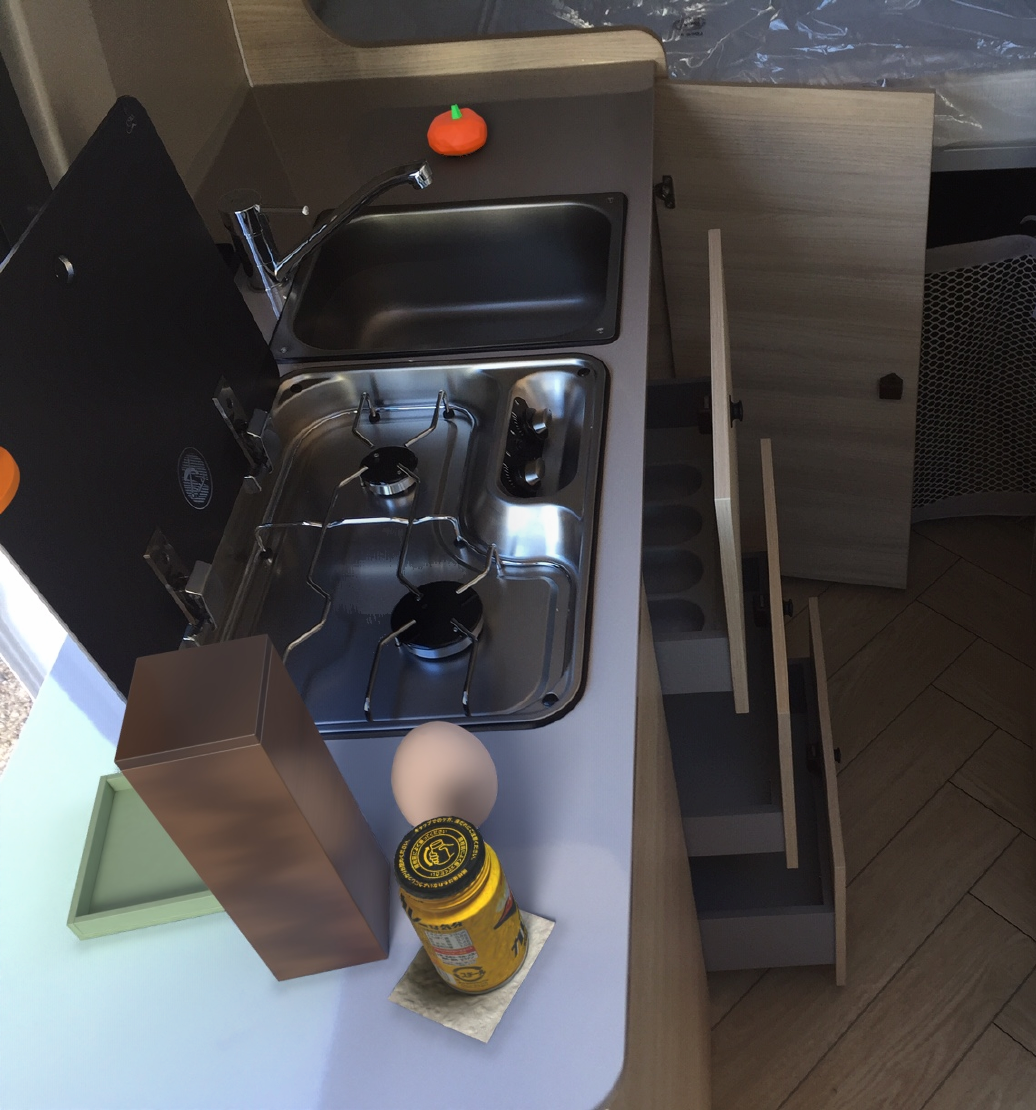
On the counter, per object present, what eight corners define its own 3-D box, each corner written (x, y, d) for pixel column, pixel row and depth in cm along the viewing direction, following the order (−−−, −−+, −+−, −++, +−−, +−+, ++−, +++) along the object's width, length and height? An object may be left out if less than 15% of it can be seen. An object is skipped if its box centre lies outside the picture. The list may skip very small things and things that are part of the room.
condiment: (556, 924, 78) (518, 822, 70) (487, 1044, 73) (437, 950, 65) (462, 888, 81) (414, 785, 72) (388, 1002, 76) (328, 905, 67)
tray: (80, 940, 80) (65, 925, 79) (112, 792, 89) (100, 775, 87) (263, 903, 81) (251, 887, 80) (278, 760, 90) (268, 743, 88)
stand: (278, 982, 77) (112, 761, 60) (286, 885, 82) (136, 657, 65) (388, 958, 78) (255, 734, 61) (390, 864, 83) (267, 632, 66)
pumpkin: (422, 154, 159) (409, 106, 154) (476, 134, 162) (465, 87, 157) (447, 173, 154) (434, 124, 150) (502, 152, 157) (491, 104, 153)
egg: (413, 871, 82) (372, 790, 75) (412, 790, 87) (372, 706, 80) (513, 849, 83) (480, 766, 76) (506, 769, 87) (475, 685, 81)
